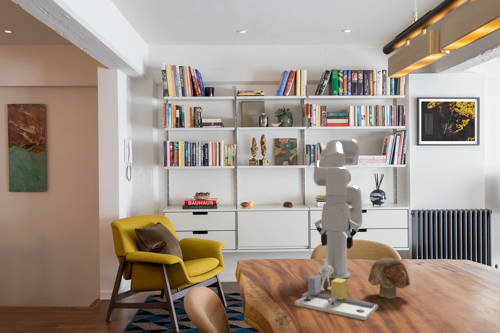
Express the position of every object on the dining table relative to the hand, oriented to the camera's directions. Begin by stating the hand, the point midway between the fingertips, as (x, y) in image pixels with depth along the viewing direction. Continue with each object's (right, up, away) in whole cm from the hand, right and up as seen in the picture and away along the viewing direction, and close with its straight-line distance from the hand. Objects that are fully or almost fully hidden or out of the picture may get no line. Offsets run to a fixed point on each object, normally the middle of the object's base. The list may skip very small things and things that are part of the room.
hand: (336, 246), depth 143 cm
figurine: (-1, -21, +16) cm, 27 cm away
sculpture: (+22, -21, +7) cm, 31 cm away
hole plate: (-1, -21, -3) cm, 21 cm away
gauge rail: (-1, -20, -3) cm, 20 cm away
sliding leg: (-1, -19, -3) cm, 20 cm away
